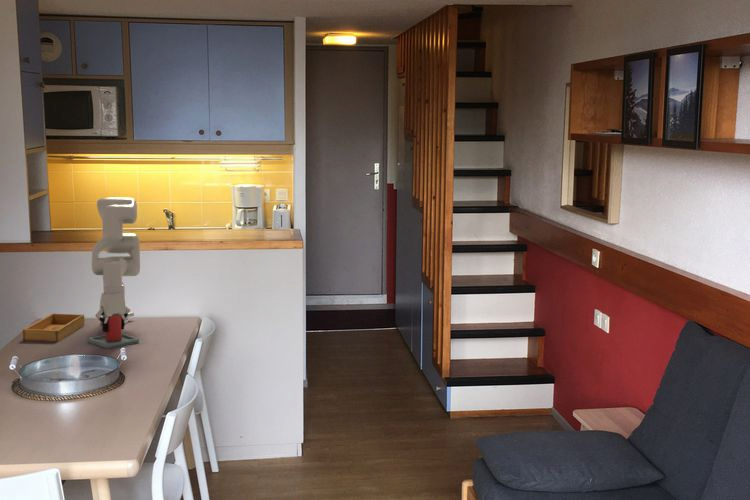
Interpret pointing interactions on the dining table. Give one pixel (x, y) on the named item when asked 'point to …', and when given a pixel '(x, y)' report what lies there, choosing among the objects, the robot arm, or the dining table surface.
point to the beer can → (114, 328)
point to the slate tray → (103, 343)
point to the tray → (53, 327)
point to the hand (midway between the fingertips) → (113, 330)
